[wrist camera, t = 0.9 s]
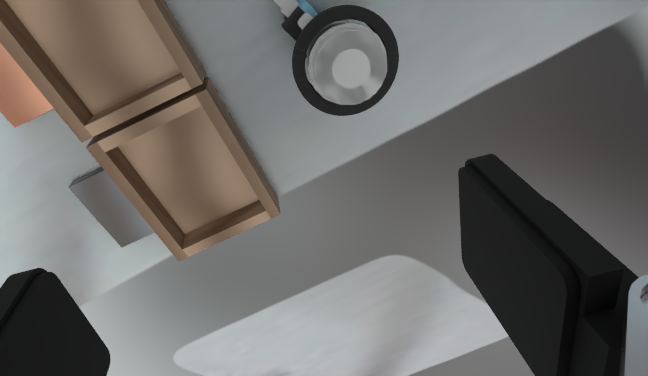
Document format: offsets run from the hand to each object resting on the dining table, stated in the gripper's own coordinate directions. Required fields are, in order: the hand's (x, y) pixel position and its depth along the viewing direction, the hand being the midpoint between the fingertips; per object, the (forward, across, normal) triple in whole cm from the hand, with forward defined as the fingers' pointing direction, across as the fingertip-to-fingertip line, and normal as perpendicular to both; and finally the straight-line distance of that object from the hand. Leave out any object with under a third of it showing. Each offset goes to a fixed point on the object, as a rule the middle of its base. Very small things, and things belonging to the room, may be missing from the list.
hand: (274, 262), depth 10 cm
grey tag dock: (+22, +9, +7) cm, 25 cm away
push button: (+22, -4, -1) cm, 23 cm away
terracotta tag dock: (+22, +11, -3) cm, 25 cm away
